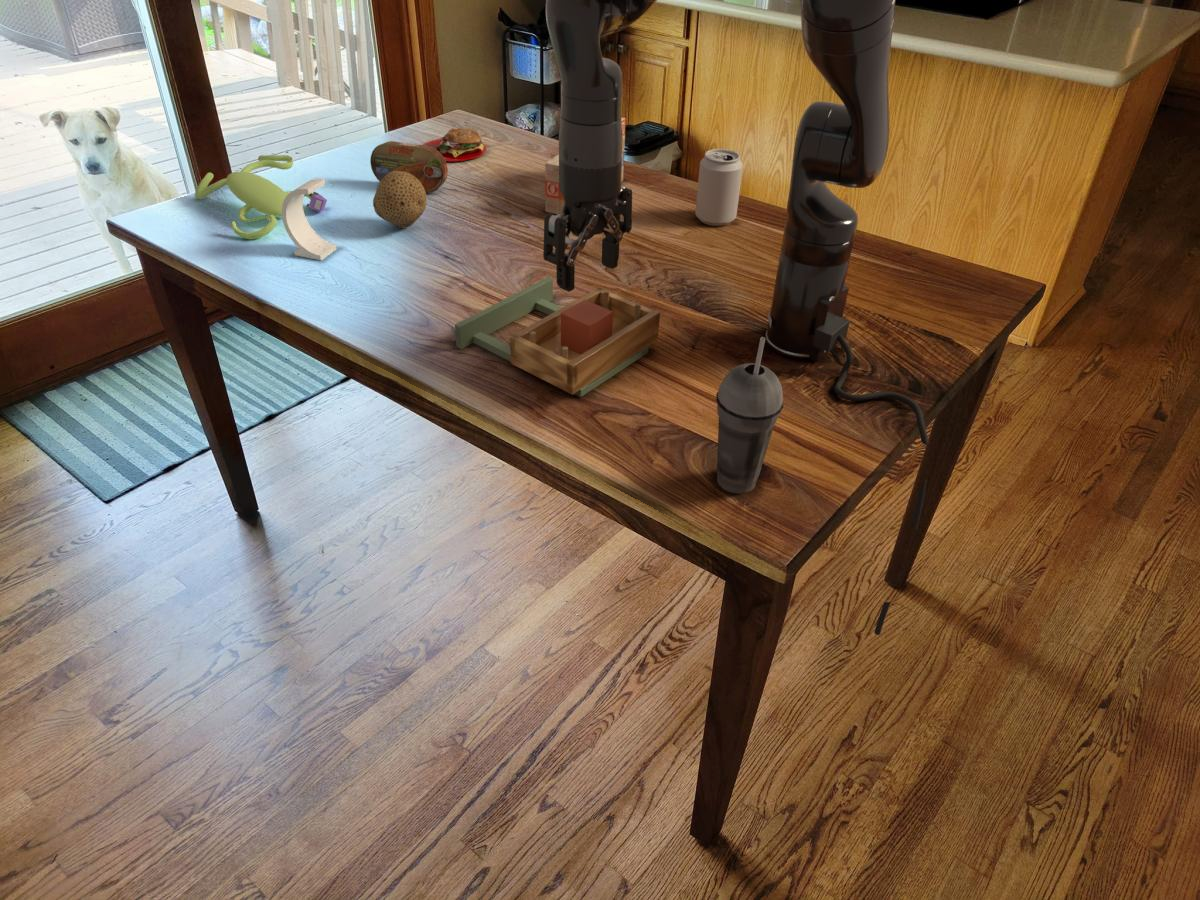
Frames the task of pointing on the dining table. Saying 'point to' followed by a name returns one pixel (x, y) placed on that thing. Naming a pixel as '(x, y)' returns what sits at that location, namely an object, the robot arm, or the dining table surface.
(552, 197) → the stack of blocks
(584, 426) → the dining table surface
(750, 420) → the beverage cup
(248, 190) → the figurine
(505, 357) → the green rectangular frame
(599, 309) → the block
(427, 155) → the tin
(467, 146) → the hamburger
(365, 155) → the dining table surface
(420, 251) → the dining table surface
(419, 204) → the natural sponge
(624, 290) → the dining table surface
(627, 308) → the open box
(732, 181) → the can
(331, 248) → the headphone stand
